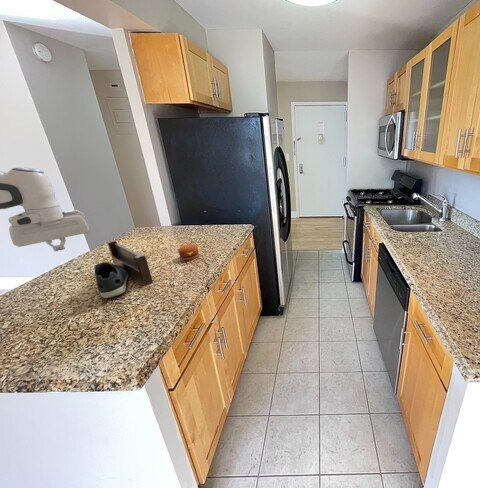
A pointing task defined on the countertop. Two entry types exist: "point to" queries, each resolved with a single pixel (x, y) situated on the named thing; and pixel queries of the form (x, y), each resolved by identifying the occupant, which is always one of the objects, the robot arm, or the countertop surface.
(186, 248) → the hamburger
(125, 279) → the water shoe
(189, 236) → the countertop surface
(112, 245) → the dark brown channel tray
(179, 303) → the countertop surface
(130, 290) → the countertop surface
